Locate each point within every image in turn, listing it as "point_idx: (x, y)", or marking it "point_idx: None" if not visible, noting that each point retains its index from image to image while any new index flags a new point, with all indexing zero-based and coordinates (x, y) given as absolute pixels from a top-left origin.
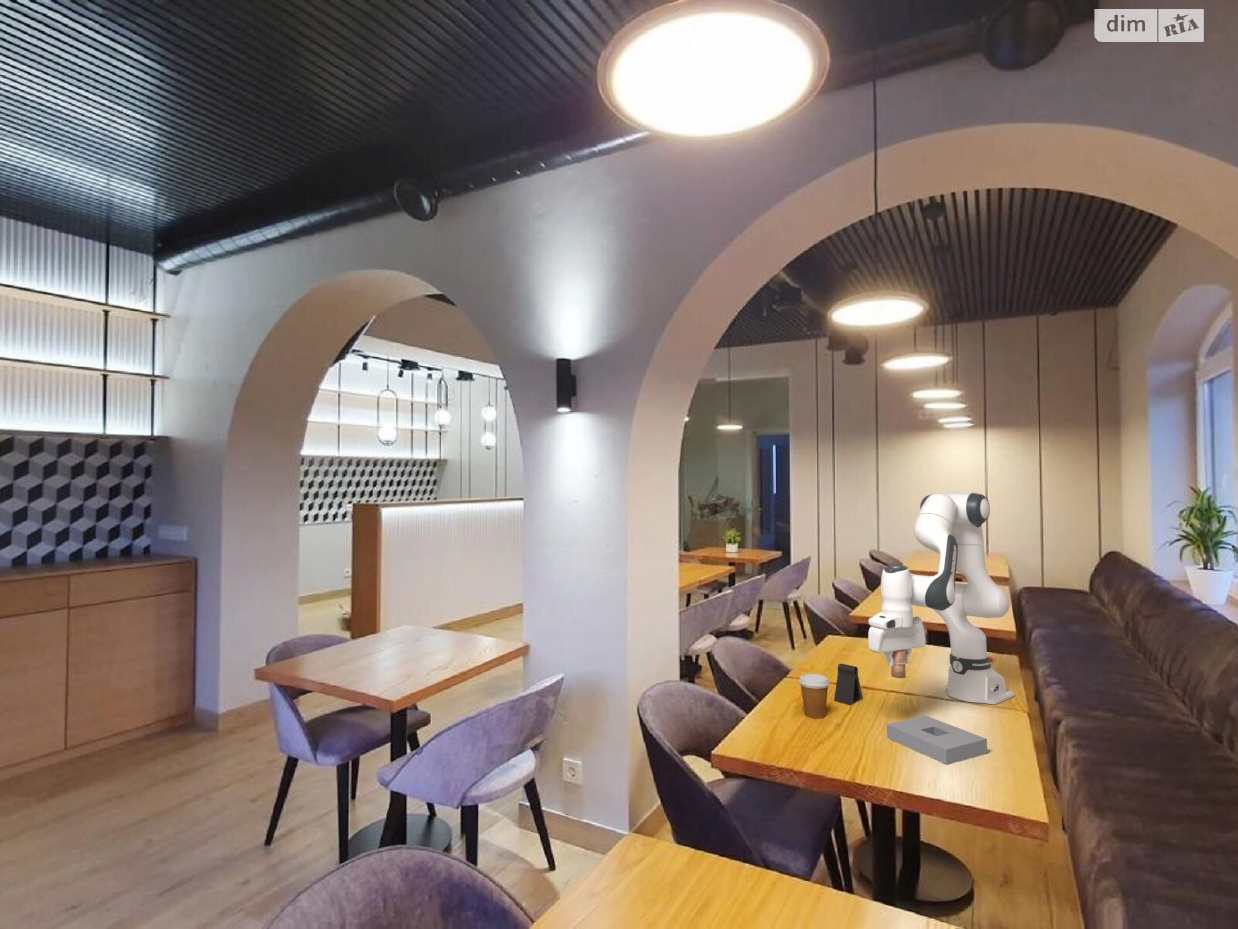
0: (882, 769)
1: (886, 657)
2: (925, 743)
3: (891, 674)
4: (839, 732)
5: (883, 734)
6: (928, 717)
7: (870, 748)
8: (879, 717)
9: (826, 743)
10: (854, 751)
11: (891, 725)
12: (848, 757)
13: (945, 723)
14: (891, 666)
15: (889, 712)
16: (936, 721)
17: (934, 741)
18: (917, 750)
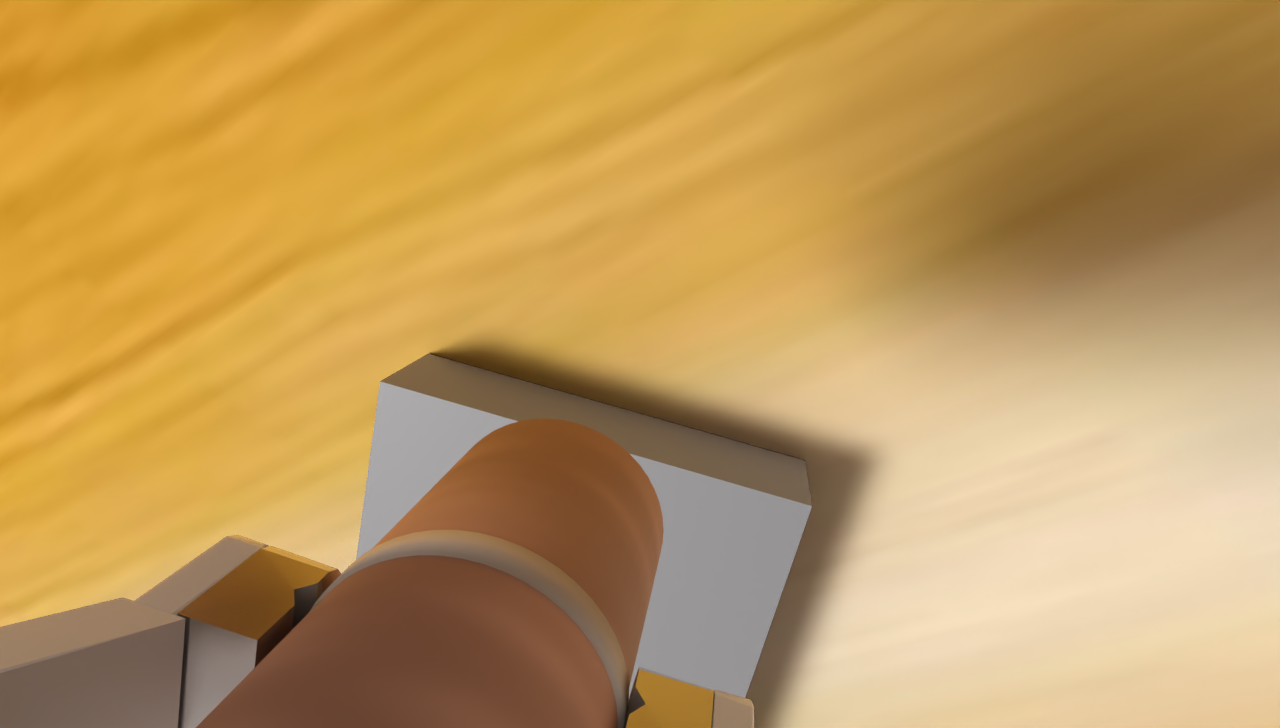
0: (65, 534)
1: (43, 631)
2: None
3: (470, 449)
4: (241, 62)
5: (467, 303)
6: (780, 540)
7: (210, 363)
8: (776, 81)
9: (33, 127)
10: (98, 321)
11: (388, 418)
12: (13, 342)
13: (745, 671)
14: (394, 527)
15: (977, 67)
16: (737, 613)
17: None
18: None
